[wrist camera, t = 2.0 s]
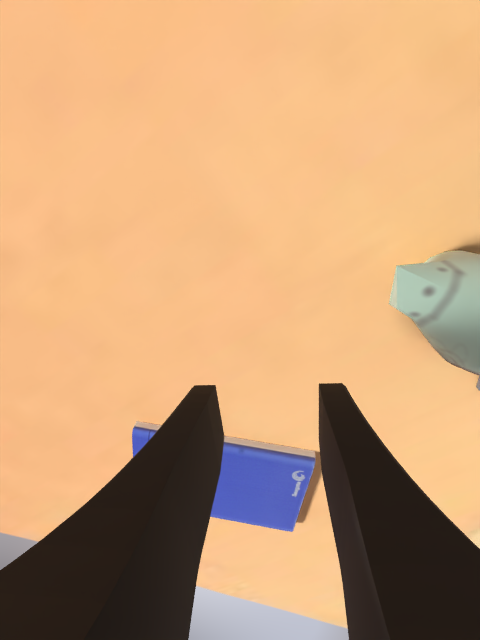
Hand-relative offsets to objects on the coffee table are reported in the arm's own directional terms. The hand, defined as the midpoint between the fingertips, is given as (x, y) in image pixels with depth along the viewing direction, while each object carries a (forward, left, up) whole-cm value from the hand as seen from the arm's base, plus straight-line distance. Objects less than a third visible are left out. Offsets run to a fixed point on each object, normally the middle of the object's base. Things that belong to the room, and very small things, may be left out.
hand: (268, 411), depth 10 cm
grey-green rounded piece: (-8, 0, -10) cm, 12 cm away
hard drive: (+5, +15, -10) cm, 19 cm away
